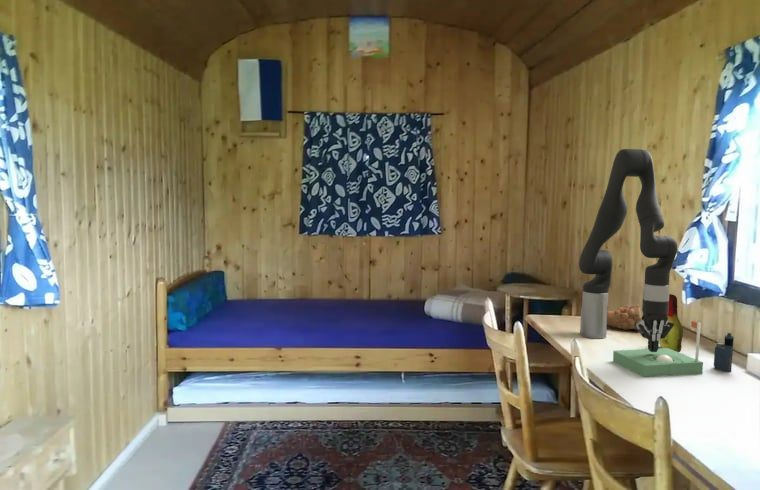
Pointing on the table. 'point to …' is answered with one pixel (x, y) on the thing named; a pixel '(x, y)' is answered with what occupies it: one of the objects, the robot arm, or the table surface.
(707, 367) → the table surface
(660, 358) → the ball
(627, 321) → the bag of nuts
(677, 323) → the bottle
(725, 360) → the vaping device
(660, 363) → the green
